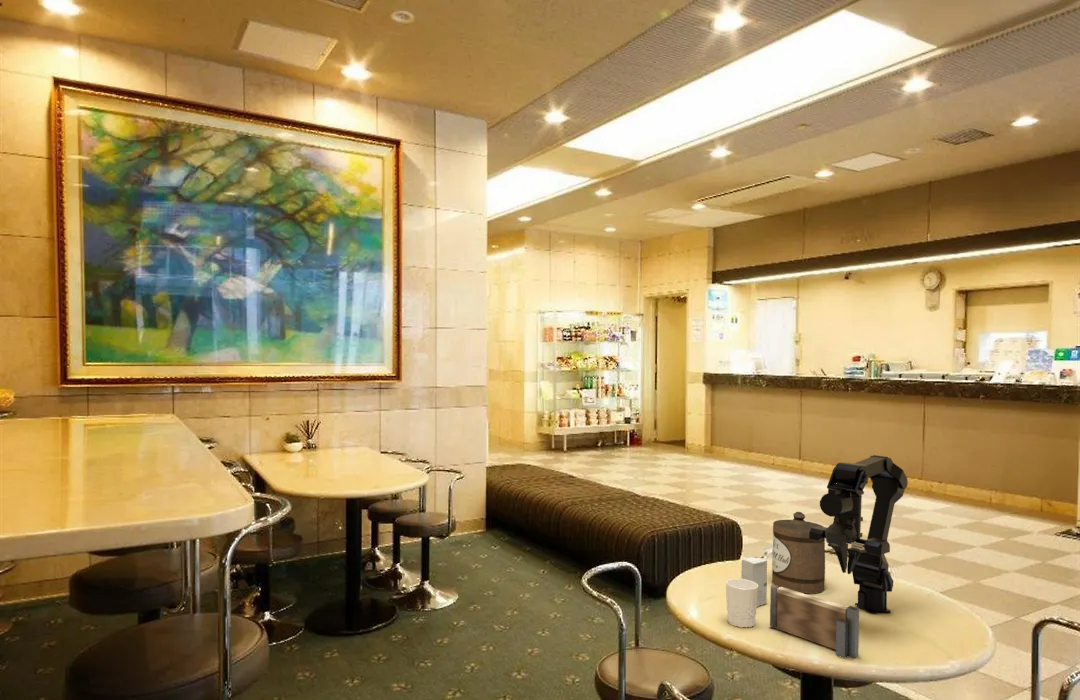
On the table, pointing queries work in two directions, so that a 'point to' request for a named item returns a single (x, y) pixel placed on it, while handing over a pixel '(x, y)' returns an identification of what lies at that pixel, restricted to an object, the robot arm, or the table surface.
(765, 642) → the table surface
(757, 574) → the skincare box
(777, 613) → the gate leaf
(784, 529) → the wooden container
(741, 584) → the white cup
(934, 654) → the table surface
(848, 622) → the post
